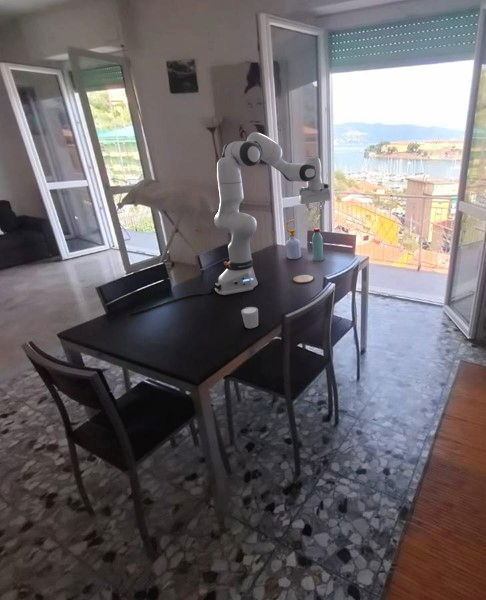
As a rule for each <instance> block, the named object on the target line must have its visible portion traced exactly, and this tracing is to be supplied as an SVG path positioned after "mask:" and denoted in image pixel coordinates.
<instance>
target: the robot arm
mask: <svg viewBox="0 0 486 600" xmlns="http://www.w3.org/2000/svg"><path fill="white" fill-rule="evenodd" d="M282 157H283V148H282V147H281V146H280V144H279V143H277V142H276V141H275V140H273V139H271V138H270V137H269V136H267V135H265V134H262V133H260V132H257V131H254V132H251V133H250V134H249V135H248V136H247V138H246V141H244V140H235V141H229V142H227V143H226V144H225V145H224V146H223V148H222V155H221V158H220V159H218V161H217V163H216V179H217V185H218V192H219V207H218V211H217V213H216V214H215V215H214V225H215V227H216V228H217V229H218V230H220V231H222V232H224V233H227V234H228V233H229V234H231V240H230V242H229V244H228V245H227V251H228V257H229V261H223V265H224V266H225V267H226V269H225V270H224V271H223V272H222V273H221V274H220V275H219V276H218V278H217V282H215V283H214V286H212V288H210V291H209V292H207V293H194V294H190V295H185V296H180V297H177V298H175V299H172V300H168V301H166V302H162V303H160V304H158V305H157V304H156V305H155V306H152V307H149V308H145V309H140V310H137V311H132V312H131V313H130V314H131V315H137V314H140V313H144V312H147V311H150V310H154V309H156V308H159V307H162V306H165V305H168V304H170V303H173V302H176V301H180V300H183V299H187V298H191V297H196V296H206V295H211V294H213V290H214V291H215V292H216V294H218V295H221V296H226V295H232V294H238V293H243V292H249V291H252V290H254V288H255V287H257V286H258V285H259V281H258V280H257V277H256V274H255V270H254V268H255V267H254V259H253V258H252V252H251V240H252V236H253V235H254V233H255V232H256V231H257V227H258V222H257V219H256V217H254V216H252V215H251V214H248V213H245V212H241V211H240V205H241V202H243V200H244V188H243V180H242V168H243V167H254V166H256V165H258V164H259V163H260V161H263V162H265V163H266V164H268V165H270V166H271V167H273V168H274V169H275V170H277V171H278V172H279V173H281V174H282V176H283V177H284V179H285V180H286V181H288V182H299V183H300V182H301V183H305V182H306V186H301V188H300V189H299V190H298V194H299V195H298V202H299V204H301V205H305V207H306V208H307V211H308V212H311V211H312V207H310V204H313V203H314V204H315V203H321V204H320V205H319V209H320V210H324V208H325V204H326V202H327V201H331V198H332V194H331V193H332V192H331V189H330V184H328V183H325V182H323V181H322V179H323V178H322V162H321V159H320V157H318V156H314V155H313V156H311V155H308V156H306V157H305V159H304V161H302V162H301V163H295V162H287V161H286V160H284V159H283V158H282Z"/></svg>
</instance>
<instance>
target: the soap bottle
mask: <svg viewBox="0 0 486 600" xmlns="http://www.w3.org/2000/svg"><path fill="white" fill-rule="evenodd" d="M294 221H295V219H294V218H293V219H290V220H288V221H287V222H286V231H287V232H288V233H290V234H289V239H288V240H286V242H285V247H286V256H287V259H288V260H298V259H300V258H301V257H302V251H301V250H302V249H301V241H300V240H299V239H298V238H296V234H295V233H296V231H297V229H289V228H290V227H289V223H292V222H294Z"/></svg>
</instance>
